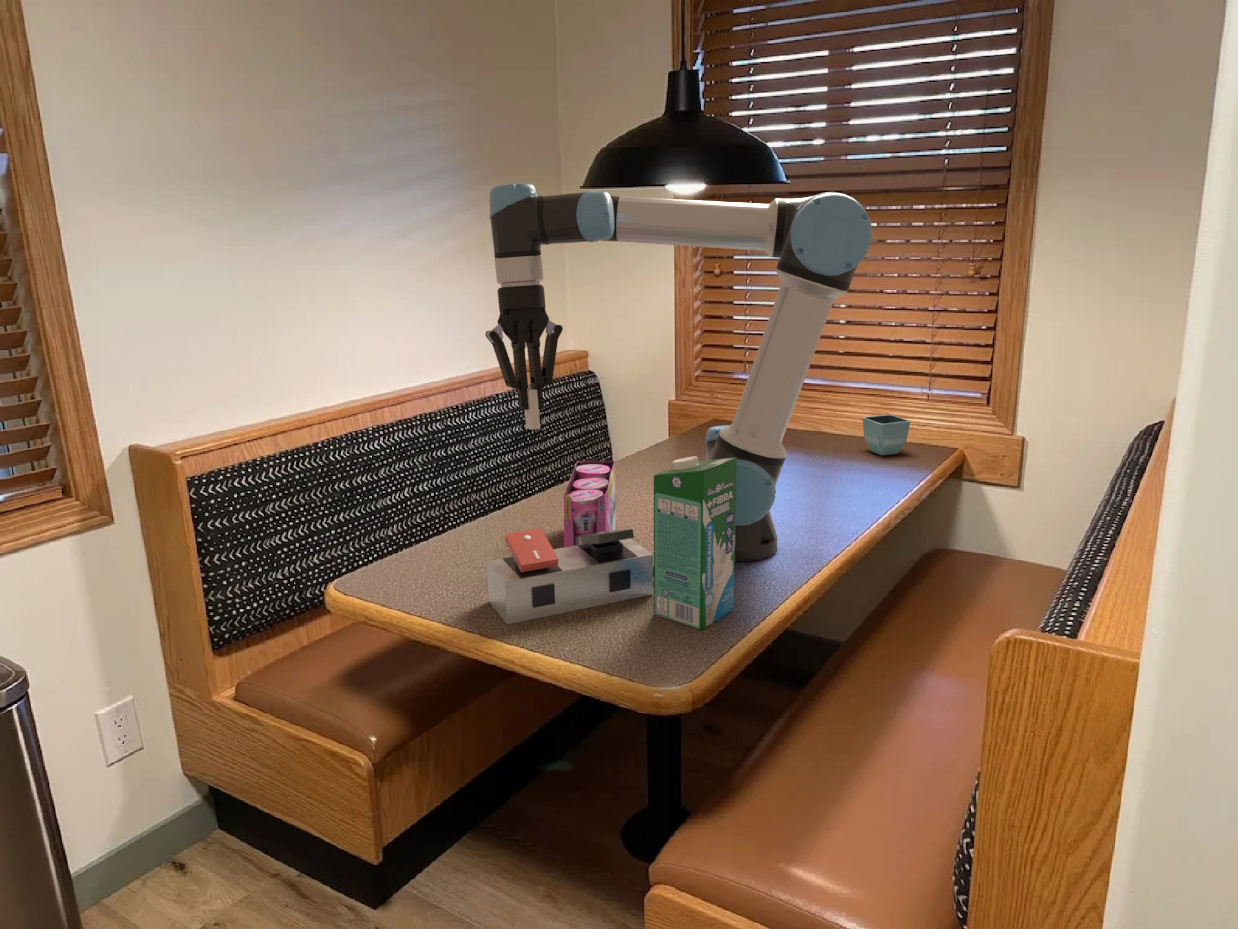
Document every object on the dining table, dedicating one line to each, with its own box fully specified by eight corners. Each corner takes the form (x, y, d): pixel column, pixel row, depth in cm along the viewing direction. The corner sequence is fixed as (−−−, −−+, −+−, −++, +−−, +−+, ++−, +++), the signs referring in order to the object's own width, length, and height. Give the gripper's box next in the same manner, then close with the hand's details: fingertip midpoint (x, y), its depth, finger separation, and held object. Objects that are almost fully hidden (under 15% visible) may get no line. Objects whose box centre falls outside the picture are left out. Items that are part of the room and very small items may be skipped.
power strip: (664, 567, 159) (664, 523, 156) (691, 587, 150) (691, 541, 148) (488, 601, 146) (486, 554, 143) (507, 625, 137) (505, 575, 135)
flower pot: (859, 450, 234) (861, 416, 231) (888, 447, 236) (891, 414, 234) (878, 458, 225) (880, 423, 223) (908, 455, 228) (911, 421, 226)
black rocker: (614, 538, 151) (613, 529, 151) (634, 537, 144) (632, 528, 144) (581, 544, 149) (580, 535, 149) (599, 543, 142) (598, 534, 142)
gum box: (607, 571, 157) (606, 497, 154) (562, 571, 158) (560, 497, 154) (616, 525, 180) (615, 460, 177) (577, 525, 181) (575, 460, 177)
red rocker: (540, 535, 146) (541, 527, 145) (557, 565, 140) (558, 558, 139) (505, 541, 144) (505, 533, 143) (521, 572, 138) (521, 565, 137)
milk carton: (686, 595, 147) (688, 447, 140) (734, 610, 141) (737, 456, 134) (653, 614, 140) (652, 459, 133) (701, 630, 135) (703, 469, 128)
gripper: (548, 282, 151) (560, 420, 156) (474, 287, 146) (488, 430, 151) (566, 281, 145) (577, 425, 150) (489, 286, 139) (503, 436, 144)
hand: (533, 428), depth 150 cm, fingers closed
